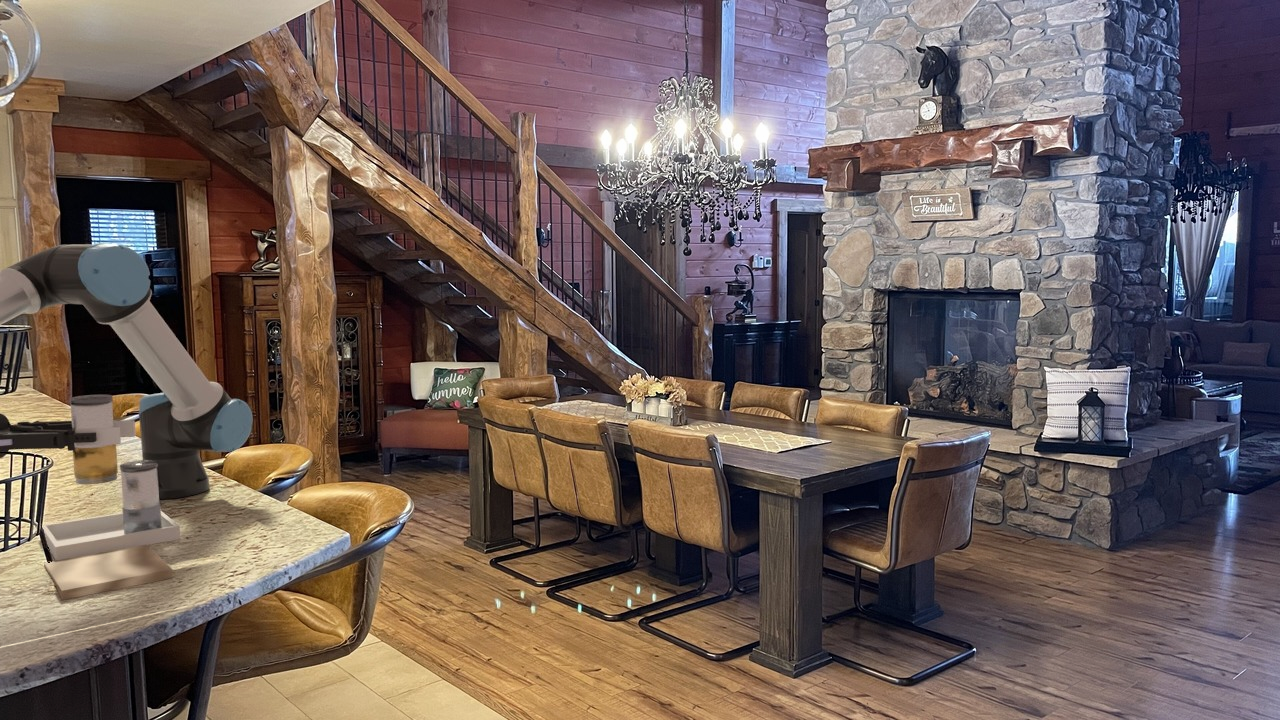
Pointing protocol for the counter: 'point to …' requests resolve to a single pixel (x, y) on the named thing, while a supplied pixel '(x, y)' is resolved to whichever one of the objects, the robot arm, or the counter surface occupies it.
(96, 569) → the board
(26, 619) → the counter surface
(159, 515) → the clear grey lidded jar
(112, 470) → the lidded honey jar
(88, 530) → the white shaker tray
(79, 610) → the counter surface
